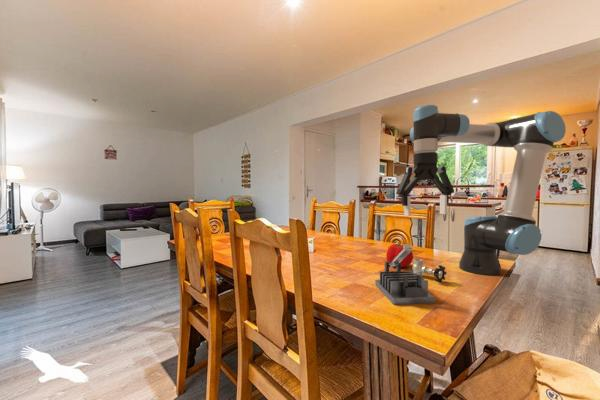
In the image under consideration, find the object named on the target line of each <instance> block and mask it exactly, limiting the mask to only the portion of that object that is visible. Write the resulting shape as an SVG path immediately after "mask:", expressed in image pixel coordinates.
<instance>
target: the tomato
mask: <svg viewBox="0 0 600 400" xmlns="http://www.w3.org/2000/svg"><path fill="white" fill-rule="evenodd" d="M403 245H404V244H400V243H391V245H389V247H388V248H387V251H386V258H385V259H386V261H388V262H389V264H390V263H391V262H392V261H393V260H394V259H395V258H396V257H397V256H398V254H399V253H400V252H401V251H402V250H403V249H404V248H403ZM413 254H414V252H413V250H412V251H411V252H410V253H409V254H408V255H407V256H406V257H405V258H404V259H403V260H402V261H401V269H402V268H406V267H408V266H410V264H412V261H413V260H414V255H413Z"/></svg>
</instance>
